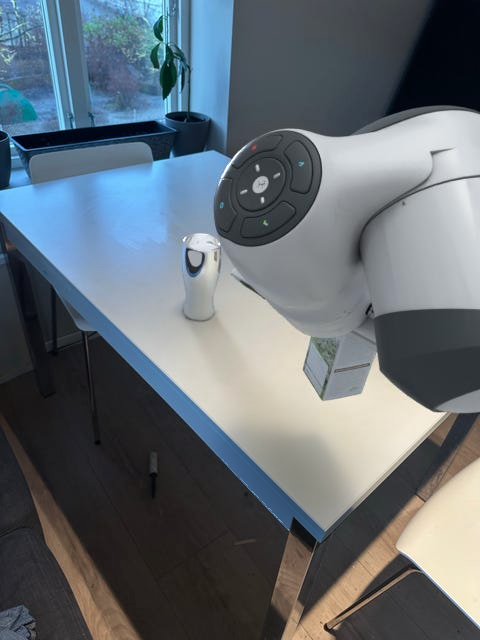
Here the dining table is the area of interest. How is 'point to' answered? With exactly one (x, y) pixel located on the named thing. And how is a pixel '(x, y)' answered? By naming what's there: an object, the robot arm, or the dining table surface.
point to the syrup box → (337, 366)
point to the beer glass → (200, 274)
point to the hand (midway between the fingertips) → (349, 326)
